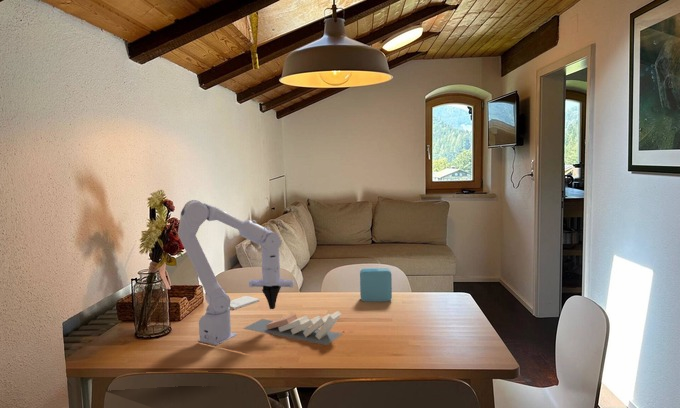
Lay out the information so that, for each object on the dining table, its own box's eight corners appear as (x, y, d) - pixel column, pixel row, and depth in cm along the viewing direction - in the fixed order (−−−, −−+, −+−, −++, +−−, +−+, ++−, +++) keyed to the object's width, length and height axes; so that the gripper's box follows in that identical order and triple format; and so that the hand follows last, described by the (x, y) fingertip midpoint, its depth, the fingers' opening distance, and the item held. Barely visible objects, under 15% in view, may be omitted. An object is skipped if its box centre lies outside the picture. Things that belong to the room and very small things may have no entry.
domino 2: (279, 332, 152) (300, 324, 147) (278, 327, 152) (298, 319, 147) (288, 327, 156) (309, 319, 152) (287, 322, 156) (307, 315, 152)
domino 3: (292, 334, 149) (313, 324, 145) (290, 330, 149) (310, 319, 145) (301, 329, 153) (321, 319, 149) (299, 325, 154) (319, 314, 150)
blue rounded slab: (390, 297, 187) (390, 268, 186) (391, 301, 183) (391, 270, 181) (360, 298, 187) (359, 268, 186) (360, 301, 183) (360, 271, 182)
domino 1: (267, 329, 154) (288, 323, 150) (266, 324, 154) (286, 318, 150) (276, 324, 158) (297, 318, 154) (275, 320, 158) (295, 314, 154)
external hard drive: (259, 302, 186) (234, 311, 177) (245, 299, 191) (220, 307, 182) (259, 298, 186) (234, 307, 176) (245, 295, 191) (220, 303, 181)
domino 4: (305, 337, 147) (324, 322, 143) (302, 332, 147) (321, 318, 143) (314, 331, 151) (332, 317, 147) (311, 327, 152) (329, 313, 148)
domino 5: (318, 339, 144) (333, 319, 141) (315, 336, 145) (329, 315, 142) (327, 334, 149) (341, 314, 145) (323, 330, 149) (337, 310, 146)
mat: (326, 346, 140) (326, 345, 140) (243, 329, 156) (243, 328, 156) (342, 335, 149) (342, 333, 149) (262, 320, 164) (262, 318, 164)
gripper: (245, 270, 151) (247, 311, 152) (290, 270, 149) (291, 312, 151) (251, 265, 158) (253, 305, 159) (294, 265, 156) (295, 305, 158)
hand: (272, 308), depth 155 cm, fingers closed
